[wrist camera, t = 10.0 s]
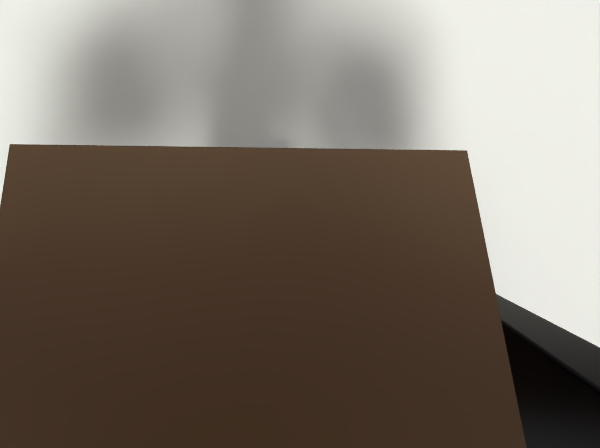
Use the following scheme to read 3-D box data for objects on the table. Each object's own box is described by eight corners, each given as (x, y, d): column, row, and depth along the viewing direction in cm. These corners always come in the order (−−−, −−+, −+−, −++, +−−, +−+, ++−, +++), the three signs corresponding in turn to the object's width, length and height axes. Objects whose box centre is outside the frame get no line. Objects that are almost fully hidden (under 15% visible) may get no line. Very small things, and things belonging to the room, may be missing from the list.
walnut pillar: (302, 407, 15) (572, 676, 3) (183, 418, 15) (-97, 838, 2) (295, 291, 17) (466, 150, 4) (185, 296, 16) (10, 144, 4)
